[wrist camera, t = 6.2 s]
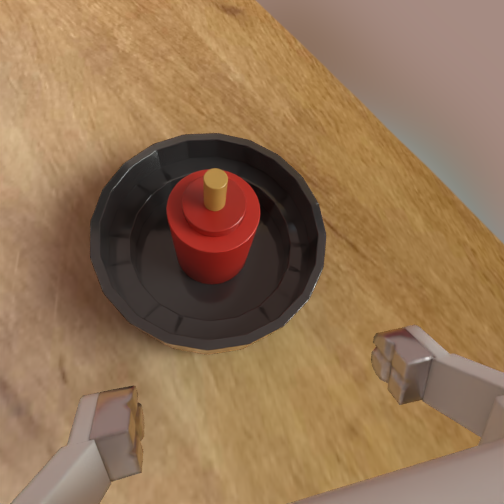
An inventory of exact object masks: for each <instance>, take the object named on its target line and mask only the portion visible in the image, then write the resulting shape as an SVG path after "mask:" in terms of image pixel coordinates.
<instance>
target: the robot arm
mask: <svg viewBox="0 0 504 504" xmlns="http://www.w3.org/2000/svg"><path fill="white" fill-rule="evenodd" d="M373 343H374V344H375V346H376V348H375V349H374V350H373V351H372V354H371V362H372V366H373V369H374V371H375V373H376V375H377V376H378V377H379V379H381V380H382V381H384V382H386V383H388V390H389V392H390V393H391V394H392V396H393V397H394V398H395V400H396V401H397V402H398V403H399V405H401V404H406V403H410V402H414V401H419V400H423V402H425V403H427V404H428V405H430V406H431V407H433V408H435V409H436V410H438V411H439V412H441V413H443V414H444V415H446V416H448V417H449V418H451V419H452V420H454V421H456V422H457V423H459V424H460V425H462V426H464V427H465V428H467V429H468V430H470V431H472V432H473V433H475V434H476V435H478V436H480V437H481V439H480V441H479V444H478V446H475V447H472V448H469V449H466V450H462V451H459V452H456V453H452V454H449V455H446V456H442V457H439V458H436V459H433V460H429V461H426V462H423V463H419V464H416V465H413V466H410V467H406V468H403V469H400V470H396V471H393V472H390V473H387V474H383V475H380V476H377V477H373V478H370V479H367V480H364V481H360V482H357V483H354V484H350V485H347V486H344V487H341V488H337V489H334V490H331V491H327V492H324V493H321V494H317V495H314V496H311V497H308V498H304V499H301V500H298V501H294V502H291V503H288V504H504V373H503V372H500V371H497V370H495V369H492V368H490V367H487V366H485V365H482V364H479V363H477V362H474V361H472V360H469V359H467V358H464V357H461V356H459V355H456V354H449V353H448V352H447V351H446V350H445V349H443V348H442V347H441V346H440V345H439V344H438V343H437V342H436V341H435V340H433V339H432V338H431V337H430V336H429V335H428V334H427V333H426V332H425V331H423V330H422V329H421V328H420V327H419V326H417V325H411V326H407V327H402V328H398V329H394V330H389V331H385V332H380V333H376V334H375V336H374V339H373ZM143 437H144V415H143V409H142V406H141V404H140V403H138V392H137V389H136V386H129V387H124V388H119V389H113V390H108V391H103V392H100V393H94V394H89V395H84V396H82V398H81V399H80V400H79V404H78V408H77V411H76V415H75V418H74V422H73V425H72V429H71V432H70V436H69V440H68V443H67V446H64V447H61V448H60V449H59V450H58V451H57V452H56V454H55V455H54V456H53V457H52V458H51V459H50V460H49V461H48V462H47V464H46V465H45V466H44V467H43V468H42V469H41V470H40V471H39V472H38V473H37V475H36V476H35V477H34V478H33V479H32V480H31V481H30V482H29V483H28V485H27V486H26V487H25V488H24V489H23V490H22V491H21V492H20V493H19V495H18V496H17V497H16V498H15V499H14V500H13V501H12V502H11V503H10V504H99V503H100V502H101V500H102V498H103V497H104V495H105V493H106V492H107V490H108V488H109V486H110V485H111V481H115V480H118V479H122V478H125V477H128V476H132V475H135V474H139V473H142V462H143V448H142V445H141V440H142V439H143Z"/></svg>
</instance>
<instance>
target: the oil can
mask: <svg viewBox="0 0 504 504" xmlns="http://www.w3.org/2000/svg"><path fill="white" fill-rule="evenodd" d="M166 211H167V219H168V223H169V227H170V231H171V235H172V239H173V243H174V247H175V251H176V255H177V259H178V262H179V265H180V267H181V268H182V270H183V271H184V272H185V273H186V274H187V275H188V276H189V277H190V278H192V279H193V280H195V281H198V282H200V283H204V284H220V283H224V282H226V281H228V280H230V279H232V278H233V277H235V276H236V275H237V274H238V273H239V272H240V271H241V269H242V268H243V266H244V264H245V261H246V258H247V256H248V253H249V250H250V247H251V244H252V241H253V238H254V235H255V233H256V230H257V227H258V224H259V220H260V204H259V201H258V198H257V196H256V194H255V192H254V190H253V189H252V188H251V186H250V185H249V184H248V183H247V182H246V181H244V180H243V179H242V178H240V177H239V176H237V175H235V174H233V173H231V172H227V171H224V170H221V169H218V168H212V169H207V170H201V171H197V172H194V173H192V174H190V175H188V176H186V177H184V178H183V179H182V180H181V181H179V182H178V183H177V184H176V186H175V187H174V188H173V190H172V191H171V193H170V195H169V198H168V201H167V208H166Z"/></svg>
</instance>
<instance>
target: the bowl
mask: <svg viewBox="0 0 504 504" xmlns="http://www.w3.org/2000/svg"><path fill="white" fill-rule="evenodd" d="M212 168H218V169H221V170H224V171H227V172H231V173H233V174H235V175H237V176H239V177H240V178H242V179H243V180H244V181H246V182H247V183H248V184H249V185H250V186H251V188H252V189H253V190H254V192H255V194H256V196H257V198H258V201H259V204H260V220H259V224H258V227H257V230H256V233H255V235H254V238H253V241H252V244H251V247H250V250H249V253H248V256H247V258H246V261H245V264H244V266H243V268H242V269H241V271H240V272H239V273H238V274H237V275H236V276H235V277H233V278H232V279H230V280H228V281H226V282H224V283H220V284H204V283H200V282H198V281H195V280H193V279H192V278H190V277H189V276H188V275H187V274H186V273H185V272H184V271H183V270H182V268H181V267H180V265H179V262H178V259H177V255H176V251H175V247H174V243H173V239H172V235H171V231H170V227H169V223H168V219H167V211H166V208H167V201H168V198H169V195H170V193H171V191H172V190H173V188H174V187H175V186H176V184H177V183H178V182H179V181H181V180H182V179H183V178H184V177H186V176H188V175H190V174H192V173H194V172H197V171H201V170H207V169H212ZM325 245H326V232H325V228H324V223H323V219H322V215H321V211H320V207H319V204H318V202H317V200H316V198H315V197H314V195H313V193H312V192H311V190H310V189H309V187H308V185H307V184H306V182H305V180H304V179H303V177H302V176H301V175H300V174H299V173H298V172H297V171H296V170H295V169H294V168H292V167H291V166H290V165H289V164H288V163H287V162H286V161H285V160H284V159H283V158H281V157H280V156H279V155H278V154H276V153H274V152H272V151H270V150H268V149H266V148H264V147H262V146H260V145H258V144H256V143H254V142H252V141H250V140H247V139H243V138H238V137H233V136H229V135H224V134H220V133H209V134H185V135H181V136H178V137H174V138H171V139H168V140H165V141H162V142H158V143H155V144H153V145H151V146H149V147H148V148H146V149H145V150H143V151H142V152H140V153H139V154H137V155H136V156H134V157H133V158H131V159H130V160H128V161H127V162H125V163H124V164H123V165H122V166H121V167H120V169H119V170H118V171H117V172H116V174H115V175H114V176H113V177H112V178H111V180H110V181H109V182H108V183H107V184H106V186H105V187H104V188H103V190H102V192H101V195H100V197H99V200H98V203H97V205H96V208H95V211H94V213H93V216H92V219H91V223H90V258H91V262H92V264H93V267H94V269H95V272H96V275H97V277H98V280H99V283H100V285H101V288H102V291H103V293H104V295H105V296H106V297H107V298H108V299H109V300H110V301H111V303H112V304H113V305H114V306H115V307H116V308H117V309H118V311H119V312H120V313H121V314H122V315H123V316H124V317H125V319H126V320H127V321H128V322H129V323H130V324H132V325H133V326H135V327H136V328H138V329H139V330H141V331H142V332H144V333H145V334H147V335H149V336H151V337H153V338H154V339H156V340H158V341H160V342H162V343H163V344H165V345H167V346H169V347H171V348H173V349H178V350H183V351H189V352H195V353H200V354H206V355H207V354H208V355H209V354H215V353H222V352H228V351H235V350H241V349H244V348H245V347H247V346H249V345H251V344H253V343H255V342H257V341H259V340H261V339H263V338H265V337H267V336H269V335H271V334H272V333H274V332H275V331H277V330H279V329H280V328H282V327H283V326H285V325H286V324H287V322H288V321H289V320H290V319H291V318H292V317H293V316H294V315H295V314H296V313H297V312H298V311H299V310H300V309H301V308H302V307H303V306H304V305H305V304H306V303H307V302H308V300H309V299H310V297H311V295H312V292H313V290H314V288H315V286H316V284H317V281H318V279H319V277H320V275H321V272H322V270H323V267H324V256H325Z"/></svg>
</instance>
